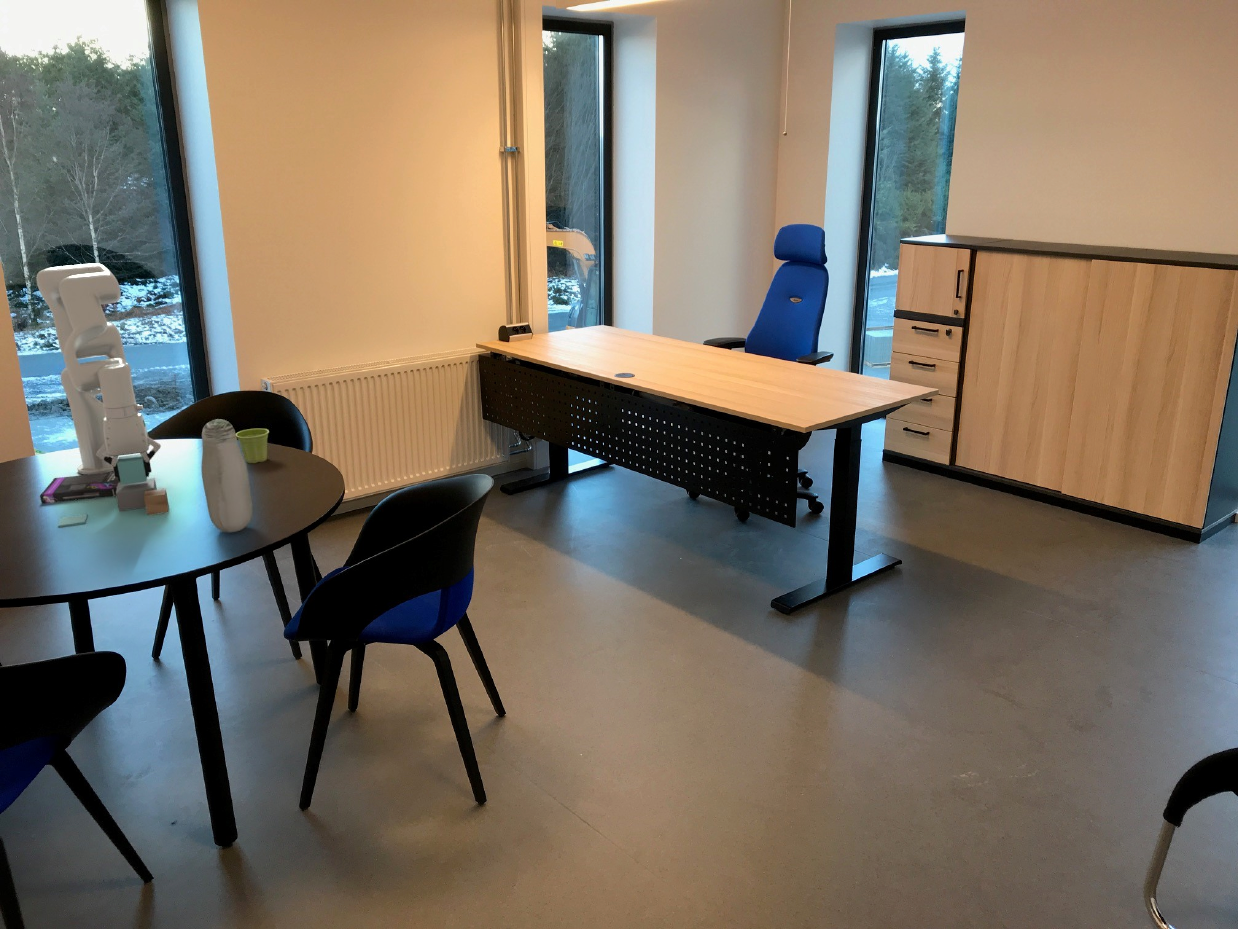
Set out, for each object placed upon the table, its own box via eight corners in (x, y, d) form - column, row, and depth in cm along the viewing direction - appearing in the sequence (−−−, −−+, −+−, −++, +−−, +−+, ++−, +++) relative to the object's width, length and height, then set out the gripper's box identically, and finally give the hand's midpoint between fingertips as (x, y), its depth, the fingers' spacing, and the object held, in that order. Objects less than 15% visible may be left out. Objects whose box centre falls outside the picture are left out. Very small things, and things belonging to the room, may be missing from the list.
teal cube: (122, 478, 265) (118, 456, 263) (147, 474, 267) (143, 453, 265) (121, 485, 260) (117, 463, 258) (146, 481, 262) (142, 459, 260)
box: (41, 507, 267) (119, 498, 271) (38, 494, 266) (116, 486, 270) (56, 489, 280) (130, 481, 284) (54, 477, 279) (128, 469, 283)
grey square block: (121, 500, 268) (118, 482, 266) (158, 495, 271) (154, 477, 269) (119, 511, 260) (115, 493, 258) (156, 505, 263) (153, 488, 261)
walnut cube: (148, 509, 261) (144, 491, 260) (168, 506, 263) (165, 488, 261) (147, 515, 257) (143, 497, 255) (168, 512, 258) (165, 494, 257)
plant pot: (249, 455, 303) (245, 428, 301) (278, 455, 302) (274, 428, 299) (234, 465, 295) (229, 437, 292) (263, 465, 293) (259, 437, 290)
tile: (61, 519, 255) (61, 517, 255) (87, 515, 257) (87, 513, 257) (58, 527, 250) (58, 525, 250) (85, 523, 252) (84, 521, 252)
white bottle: (254, 534, 242) (237, 424, 233) (210, 540, 239) (190, 428, 230) (256, 520, 251) (240, 413, 242) (213, 525, 248) (195, 417, 239)
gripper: (158, 404, 264) (169, 468, 269) (85, 412, 258) (99, 477, 263) (157, 410, 257) (169, 476, 263) (82, 419, 251) (96, 486, 257)
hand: (134, 476), depth 263 cm, fingers closed on teal cube, 6 cm apart
